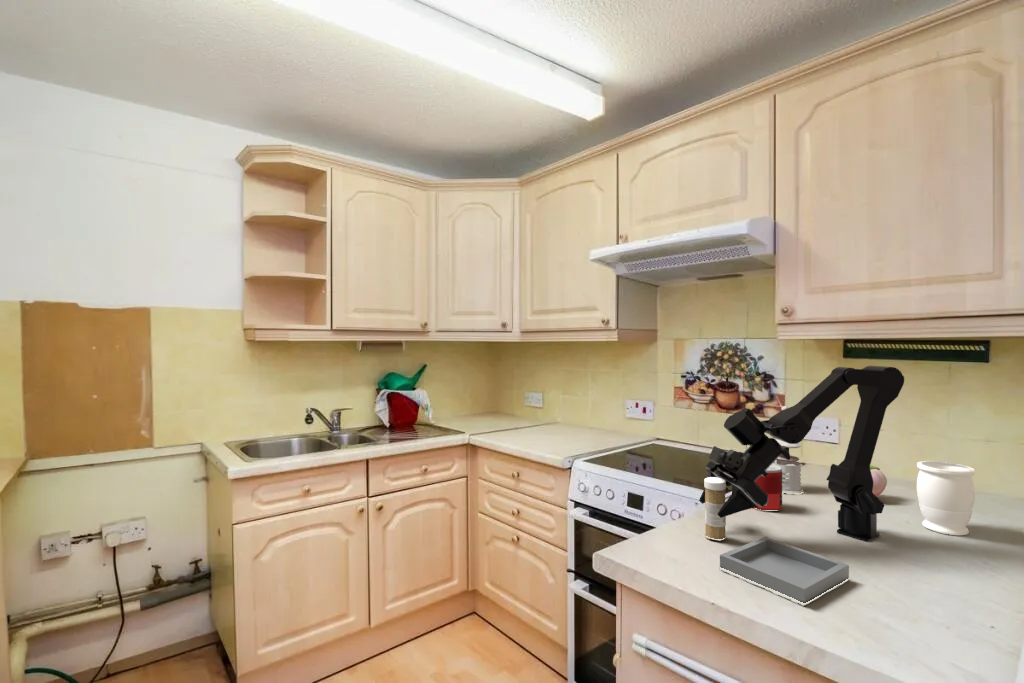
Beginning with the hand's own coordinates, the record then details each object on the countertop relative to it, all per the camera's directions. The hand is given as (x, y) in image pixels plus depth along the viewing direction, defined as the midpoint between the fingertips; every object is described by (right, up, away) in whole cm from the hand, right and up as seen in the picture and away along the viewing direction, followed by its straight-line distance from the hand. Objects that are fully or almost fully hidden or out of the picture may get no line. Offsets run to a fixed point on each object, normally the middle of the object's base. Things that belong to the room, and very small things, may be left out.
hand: (709, 508), depth 113 cm
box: (+7, -7, -18) cm, 20 cm away
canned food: (+23, -7, +20) cm, 31 cm away
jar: (+57, -6, +4) cm, 58 cm away
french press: (+37, -6, +36) cm, 52 cm away
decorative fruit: (+55, -6, +26) cm, 61 cm away
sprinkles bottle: (+1, -7, 0) cm, 7 cm away
